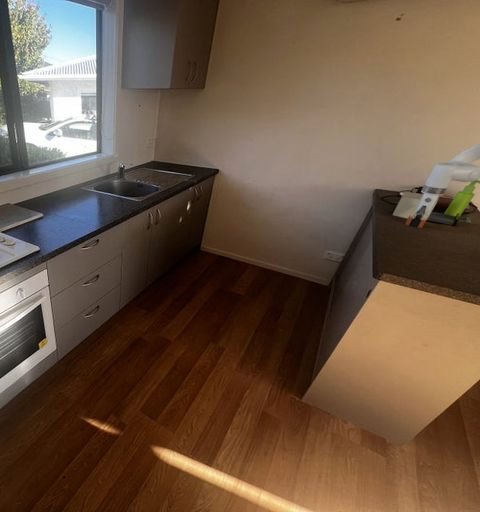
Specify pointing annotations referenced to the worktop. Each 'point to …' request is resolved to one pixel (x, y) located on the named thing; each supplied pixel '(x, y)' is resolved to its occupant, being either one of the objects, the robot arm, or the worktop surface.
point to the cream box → (409, 205)
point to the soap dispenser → (461, 200)
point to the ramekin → (411, 220)
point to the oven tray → (447, 218)
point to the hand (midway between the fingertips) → (413, 224)
